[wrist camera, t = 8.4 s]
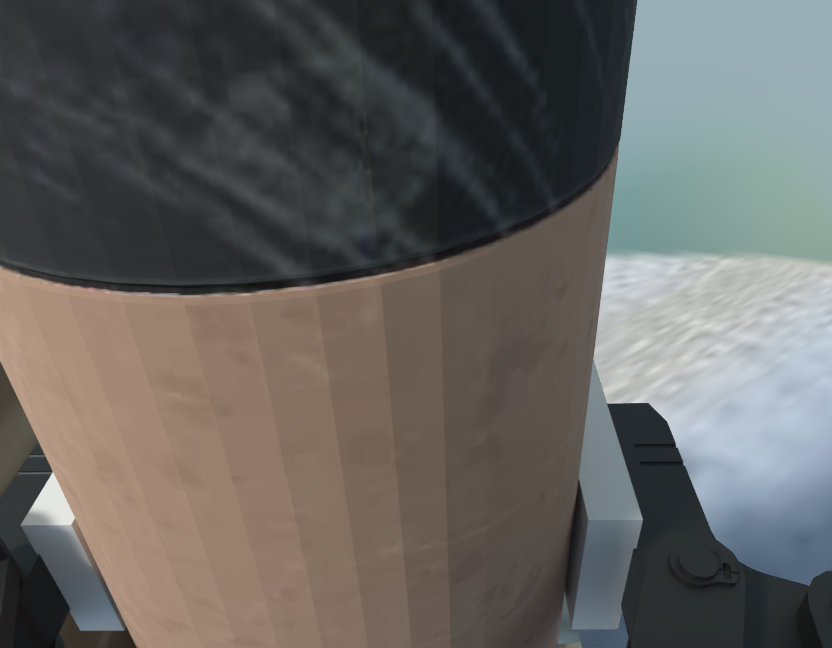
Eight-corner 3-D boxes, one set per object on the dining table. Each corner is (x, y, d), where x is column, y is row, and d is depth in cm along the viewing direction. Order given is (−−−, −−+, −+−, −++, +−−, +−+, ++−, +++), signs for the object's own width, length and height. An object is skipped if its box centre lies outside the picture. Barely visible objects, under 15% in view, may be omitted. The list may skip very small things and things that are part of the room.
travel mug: (595, 791, 18) (835, -149, 6) (360, 1082, 14) (-171, -56, 2) (404, 596, 22) (342, -135, 11) (189, 768, 19) (-255, -97, 7)
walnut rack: (564, 521, 36) (615, 159, 25) (695, 1190, 18) (1099, 985, 7) (177, 522, 37) (54, 172, 26) (-68, 1165, 19) (-857, 944, 8)
